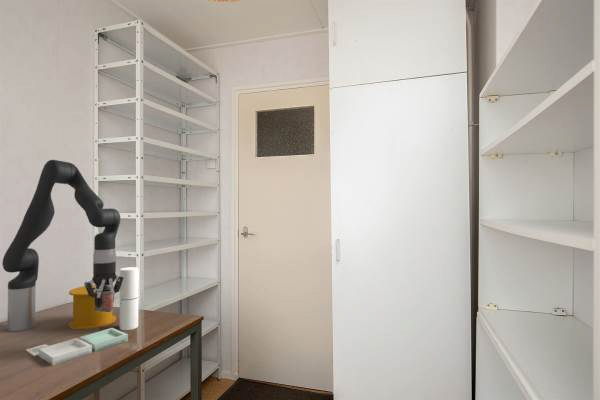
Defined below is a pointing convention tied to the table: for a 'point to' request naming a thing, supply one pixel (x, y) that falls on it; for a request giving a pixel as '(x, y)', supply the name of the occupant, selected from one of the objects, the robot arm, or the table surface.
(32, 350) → the card
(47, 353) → the white tray
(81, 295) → the spool
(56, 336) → the table surface
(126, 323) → the cylindrical container
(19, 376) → the table surface
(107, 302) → the lighter
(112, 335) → the green tray
